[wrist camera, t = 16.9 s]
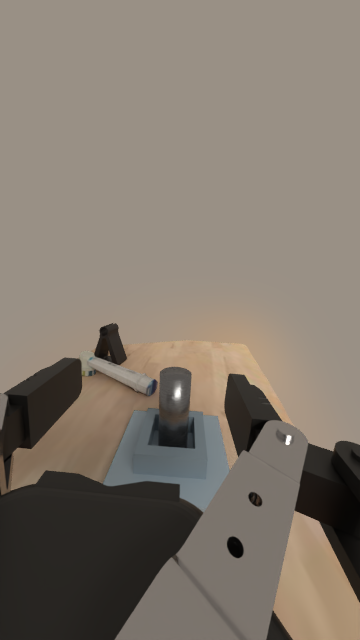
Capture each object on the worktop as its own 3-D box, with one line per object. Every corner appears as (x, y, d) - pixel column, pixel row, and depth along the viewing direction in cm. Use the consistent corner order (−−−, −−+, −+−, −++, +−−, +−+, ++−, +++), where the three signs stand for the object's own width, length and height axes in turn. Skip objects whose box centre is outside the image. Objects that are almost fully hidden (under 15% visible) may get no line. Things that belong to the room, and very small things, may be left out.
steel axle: (155, 458, 28) (157, 380, 26) (160, 435, 32) (162, 366, 30) (186, 461, 28) (191, 382, 26) (187, 437, 32) (191, 367, 30)
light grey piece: (147, 385, 44) (71, 349, 53) (143, 410, 45) (70, 371, 55) (160, 375, 48) (87, 344, 58) (156, 399, 50) (86, 365, 60)
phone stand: (91, 362, 63) (90, 325, 60) (102, 356, 68) (101, 322, 66) (118, 366, 61) (117, 328, 59) (127, 359, 67) (127, 324, 65)
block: (96, 509, 23) (95, 476, 22) (134, 417, 39) (134, 396, 38) (236, 521, 22) (241, 488, 22) (217, 423, 38) (219, 401, 37)
